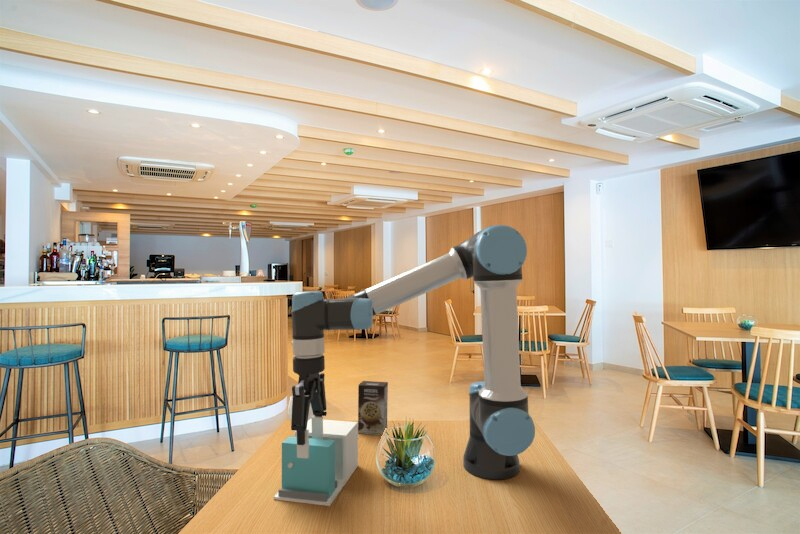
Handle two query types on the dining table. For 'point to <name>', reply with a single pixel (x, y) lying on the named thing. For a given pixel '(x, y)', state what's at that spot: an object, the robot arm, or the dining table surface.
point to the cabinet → (344, 462)
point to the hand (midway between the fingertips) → (310, 449)
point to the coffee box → (372, 407)
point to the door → (309, 466)
